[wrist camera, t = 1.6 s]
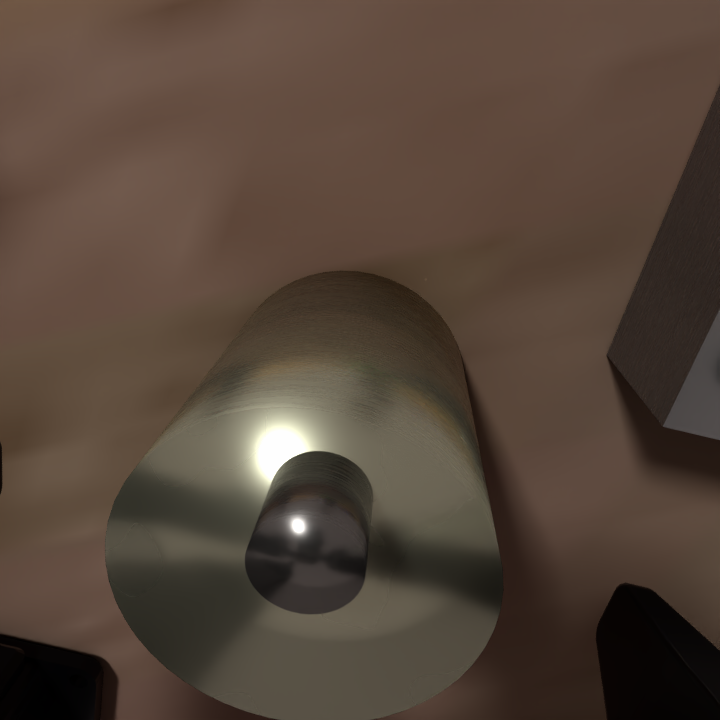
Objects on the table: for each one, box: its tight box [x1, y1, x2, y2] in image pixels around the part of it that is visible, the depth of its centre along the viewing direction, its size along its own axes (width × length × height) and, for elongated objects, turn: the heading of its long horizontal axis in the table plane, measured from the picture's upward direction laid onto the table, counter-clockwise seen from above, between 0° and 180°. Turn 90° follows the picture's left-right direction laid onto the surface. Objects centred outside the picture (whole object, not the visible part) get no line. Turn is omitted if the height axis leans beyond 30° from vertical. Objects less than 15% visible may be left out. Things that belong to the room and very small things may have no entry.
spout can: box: [105, 271, 503, 720], centre depth 10 cm, size 5×5×7 cm
